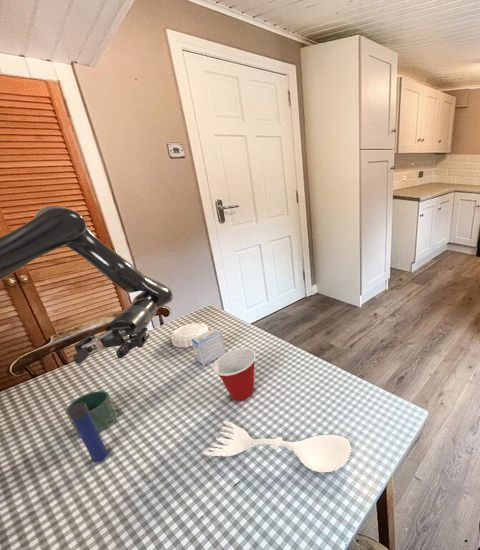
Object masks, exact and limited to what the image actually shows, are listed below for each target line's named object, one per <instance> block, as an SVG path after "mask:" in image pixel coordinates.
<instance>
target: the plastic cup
mask: <svg viewBox="0 0 480 550" xmlns="http://www.w3.org/2000/svg"><path fill="white" fill-rule="evenodd" d="M256 356H257V354H256V352H255V351H254V350H253V349H251V348H249V347H240V348H235V349H231V350H230V351H226V353H225V354H224V355H222V356H220V357H218V358H216V359H215V360H214V363H213V365H212V369H213V372H214V374H216V375H218V376H219V379H221V381H222V383H223V385H224V386H225V389H226V390H227V392H228V394H229V396H230V399H232V400H234V401H236V402H241V401H245V400H247V399H249V398H250V397H252V395H253V393H254V387H255V366H256V365H255V360H256Z"/></svg>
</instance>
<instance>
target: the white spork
mask: <svg viewBox="0 0 480 550" xmlns="http://www.w3.org/2000/svg"><path fill="white" fill-rule="evenodd" d="M222 423H223V424H224V425H226V426H221V429H222V430H223V431H219V434H220V435H222V436H224V437H226V438H223V437H215V440H216V441H217V442H219V443H220V444H217V443H210V445H211V446H212V447H206V448H207V450H208V451H202V453H201V454H203V455H204V456H207V457H233V456H236V455H240V454H241V453H244V452H245V451H246V450H249V449H251V448H253V447H256V446H263V445H264V446H270V447H272V449H273V450H278V449H279V448H281V447H286V448H288V449H291V450H292V451H293V453H294V454H295V456H296V457H297V458H298V460H300V462H301V463H302V464H303V465H304V466H305V467H306V468H308V469H309V470H311V471H314V472H318V473H331V472H335V471H338V470H339V469H341V468H343V467H344V466H345V465H346V464H347V463H348V461H349V459H350V456H351V453H352V447H351V443H350V441H349V440H348V439H347V438H345V437H343V436H341V435H337V434H320V435H314V436H311V437H309V438H305V439H302V440H299V441H287V440H283V437H282V436H277V437H275V438H252V437H250V435H249V433H248V432H247V430H245V429H244V428H242V427H240V426H238V425H236V424H235V423H232V422H230V421H228V420H223V422H222ZM225 431H226V432H225Z"/></svg>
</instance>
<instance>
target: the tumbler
mask: <svg viewBox="0 0 480 550" xmlns="http://www.w3.org/2000/svg"><path fill="white" fill-rule="evenodd" d="M81 402H84V403H86V405H87V408H88V410H89V413H90V416H91V418H92V420H93V422H94V424H95V426H96V428H97V431H98V433H100V432H101V431H102V432H103V431H104V430H105V429H107V428H108V427H109V426H110V425H112V424H114V422H115V420H116V419H117V415H118V412H117V410H116V407H115V405H114V403H113V400H112V398H111V396H110V393H109V392H107V391H105V390H97V391H91V392H89V393H86V394H84V395H82V396H80V397H78V398H76V399H75V400H74V401H72V402H71V403H70V404H68V406H67V407H66V409H65V415H66V417H67V418H68V420H69V422H70V424H71V426H72V428H73V430H74V432H75V434H76V435H77V436H80V434H79V432H78V430H77V428H76V426H75V424H74V422H73V420H72V419H71V418H70V416H69V414H68V409H69V408H70V407H71V406H73V405H75V404H77V403H81ZM80 437H81V436H80Z"/></svg>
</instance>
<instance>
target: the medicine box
mask: <svg viewBox="0 0 480 550" xmlns="http://www.w3.org/2000/svg"><path fill="white" fill-rule="evenodd" d="M192 344H193V346H192V347H193V351H194V354H195V359H196V361H197V362H199V363H200V364H201V365H202V366H205V365H207V364H209V363H211V362H213V361H216V360H217V359H218V358H219V357H220V356H222V355H224V354H225V353H227V351H226V347H225V341H224V337H223V333H222V331H219V330H218V329H216V328H213V329H210V330H209V331H208V332H206V333H204V334H202V335H199V336H197V337H195V338H193V339H192Z"/></svg>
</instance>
